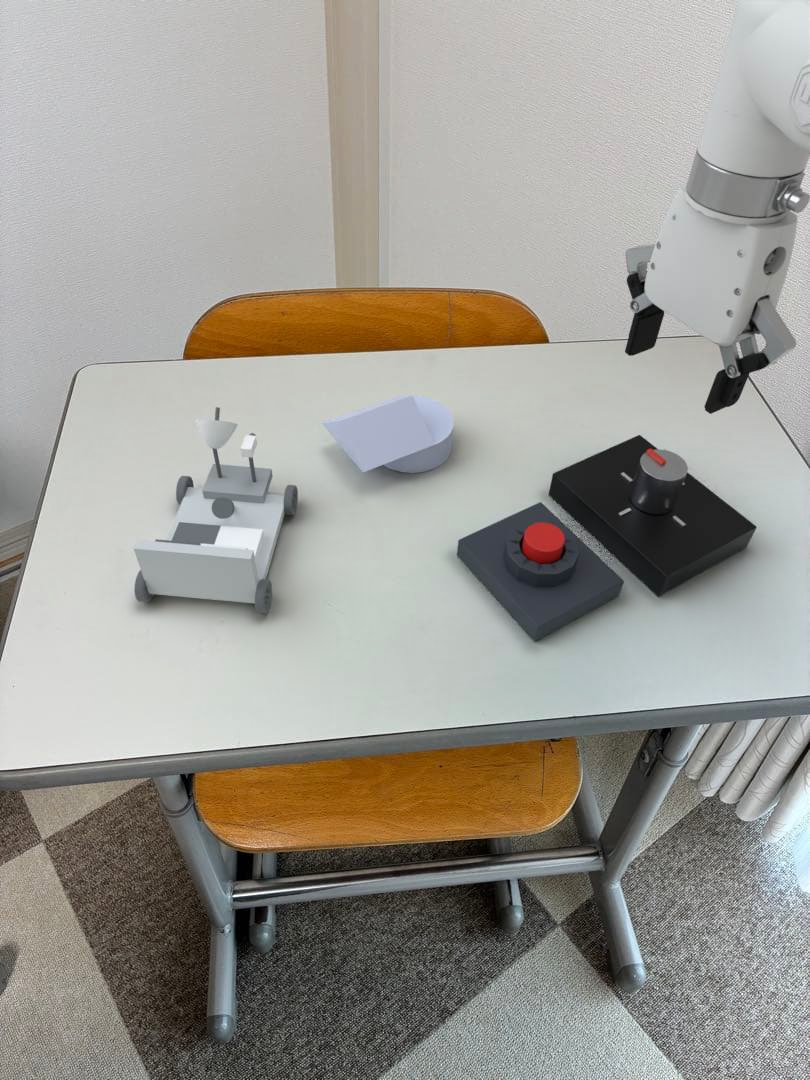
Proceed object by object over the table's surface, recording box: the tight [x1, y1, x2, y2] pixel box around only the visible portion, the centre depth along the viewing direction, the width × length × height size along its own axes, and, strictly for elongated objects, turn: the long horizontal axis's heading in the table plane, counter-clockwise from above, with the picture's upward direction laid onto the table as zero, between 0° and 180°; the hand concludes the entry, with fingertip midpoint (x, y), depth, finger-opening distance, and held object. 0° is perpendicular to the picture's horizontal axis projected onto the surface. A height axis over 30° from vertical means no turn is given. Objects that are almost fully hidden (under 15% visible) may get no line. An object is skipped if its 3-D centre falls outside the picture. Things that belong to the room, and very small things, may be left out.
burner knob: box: [630, 448, 689, 514], centre depth 76 cm, size 4×4×5 cm
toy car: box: [133, 407, 299, 614], centre depth 74 cm, size 18×10×12 cm
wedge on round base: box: [321, 394, 455, 474], centre depth 84 cm, size 9×7×13 cm
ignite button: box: [522, 523, 565, 564], centre depth 72 cm, size 4×4×2 cm
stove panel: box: [548, 434, 758, 598], centre depth 79 cm, size 16×12×3 cm
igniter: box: [456, 501, 625, 642], centre depth 74 cm, size 12×10×4 cm
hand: (677, 377), depth 70 cm, fingers open, 9 cm apart
